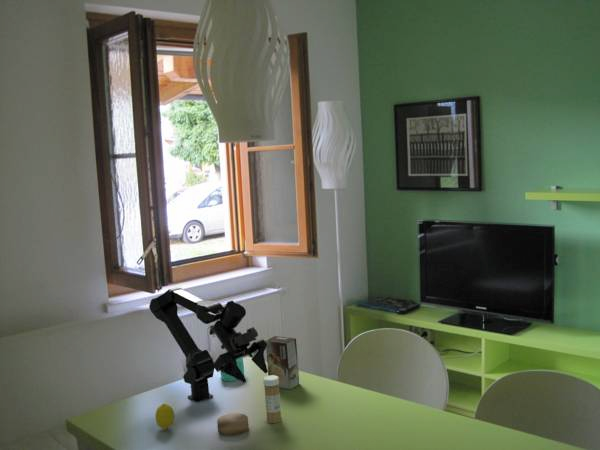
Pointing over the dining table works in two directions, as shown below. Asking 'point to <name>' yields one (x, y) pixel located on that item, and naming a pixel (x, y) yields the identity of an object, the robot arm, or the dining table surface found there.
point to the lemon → (165, 416)
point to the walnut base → (232, 424)
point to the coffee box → (283, 360)
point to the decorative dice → (231, 378)
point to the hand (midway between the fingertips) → (256, 377)
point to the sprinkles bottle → (272, 398)
